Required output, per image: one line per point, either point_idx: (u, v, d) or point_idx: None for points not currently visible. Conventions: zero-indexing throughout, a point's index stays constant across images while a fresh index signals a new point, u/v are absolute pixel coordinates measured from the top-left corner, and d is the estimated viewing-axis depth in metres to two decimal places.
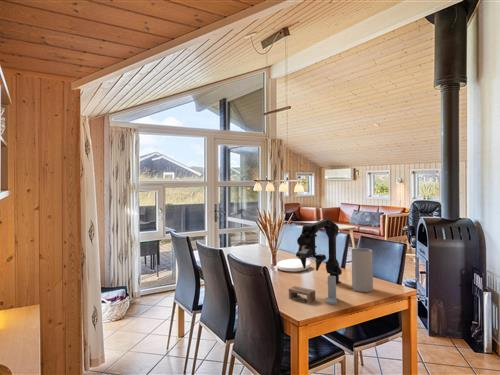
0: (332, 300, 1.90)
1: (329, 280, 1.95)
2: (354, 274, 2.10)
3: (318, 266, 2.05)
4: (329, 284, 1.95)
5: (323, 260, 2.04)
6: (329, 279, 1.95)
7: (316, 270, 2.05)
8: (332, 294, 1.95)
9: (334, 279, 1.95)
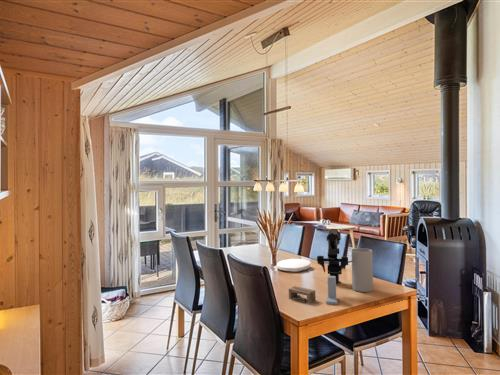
0: (332, 300, 1.90)
1: (329, 280, 1.95)
2: (354, 274, 2.10)
3: (341, 268, 2.05)
4: (329, 284, 1.95)
5: (345, 265, 2.08)
6: (329, 279, 1.95)
7: (340, 271, 2.03)
8: (332, 294, 1.95)
9: (334, 279, 1.95)
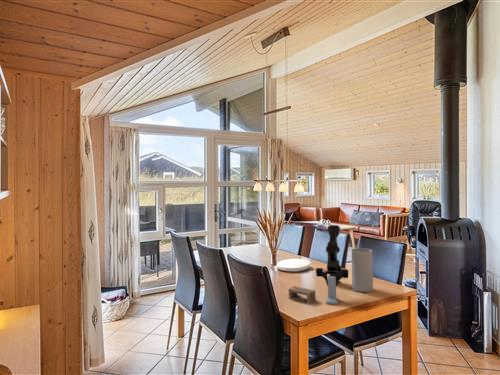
0: (332, 300, 1.90)
1: (329, 280, 1.95)
2: (354, 274, 2.10)
3: (337, 281, 1.97)
4: (329, 284, 1.95)
5: None
6: (329, 279, 1.95)
7: (336, 285, 1.95)
8: (332, 294, 1.95)
9: (334, 279, 1.95)
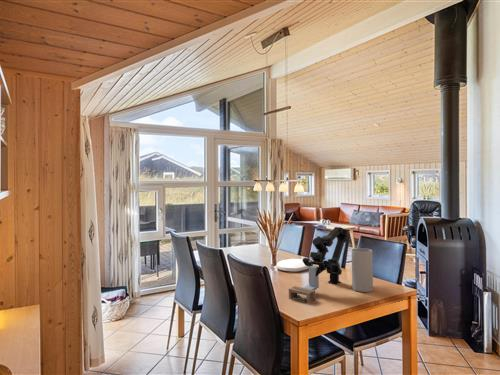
0: (308, 288, 2.03)
1: (310, 269, 2.08)
2: (354, 274, 2.10)
3: (319, 272, 2.07)
4: (310, 273, 2.08)
5: (325, 269, 2.08)
6: (310, 268, 2.08)
7: None
8: (312, 283, 2.07)
9: (314, 269, 2.06)
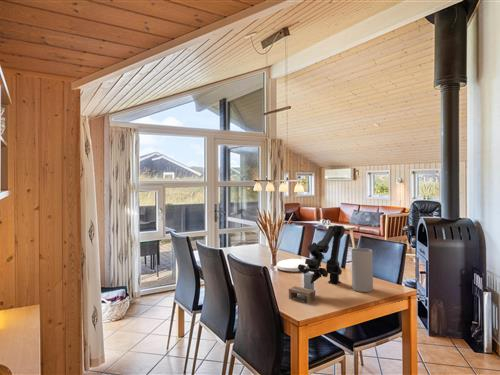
0: (303, 295, 1.99)
1: (305, 276, 2.03)
2: (354, 274, 2.10)
3: (314, 279, 2.02)
4: (305, 280, 2.04)
5: (321, 276, 2.04)
6: (305, 276, 2.03)
7: (311, 282, 2.01)
8: None
9: (309, 276, 2.02)
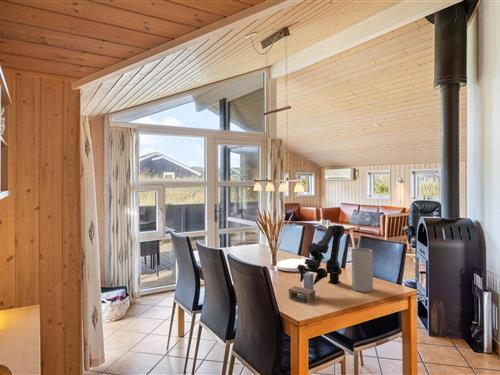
0: (303, 296, 1.98)
1: (304, 277, 2.03)
2: (354, 274, 2.10)
3: (317, 280, 2.01)
4: (304, 281, 2.03)
5: (324, 277, 2.02)
6: (304, 276, 2.03)
7: (314, 283, 2.00)
8: None
9: (309, 276, 2.01)
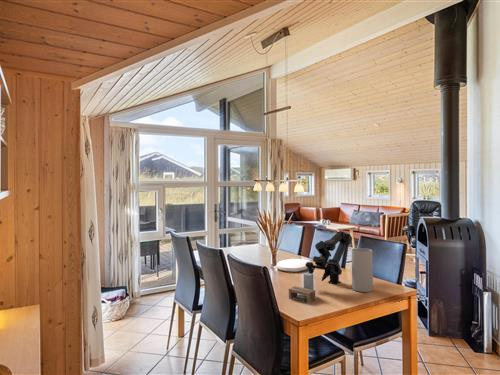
0: (303, 296, 1.98)
1: (304, 277, 2.03)
2: (354, 274, 2.10)
3: (325, 277, 2.08)
4: (304, 281, 2.03)
5: (331, 273, 2.09)
6: (304, 276, 2.03)
7: (322, 279, 2.07)
8: None
9: (309, 276, 2.01)
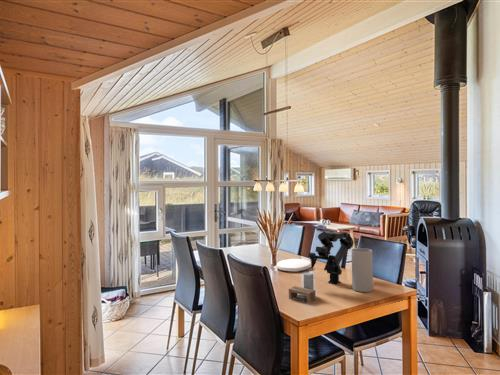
0: (303, 296, 1.98)
1: (304, 277, 2.03)
2: (354, 274, 2.10)
3: (327, 266, 2.10)
4: (304, 281, 2.03)
5: (334, 263, 2.12)
6: (304, 276, 2.03)
7: (324, 269, 2.09)
8: None
9: (308, 276, 2.01)
